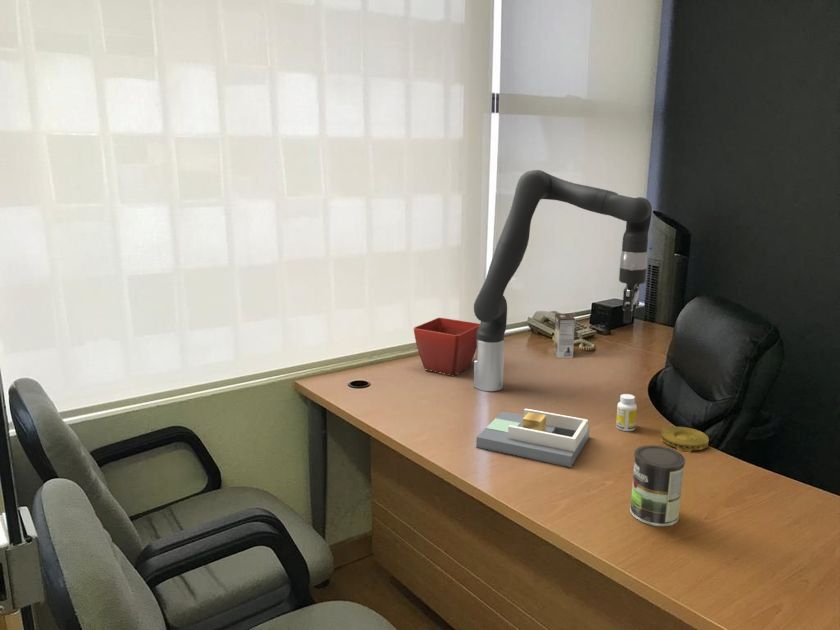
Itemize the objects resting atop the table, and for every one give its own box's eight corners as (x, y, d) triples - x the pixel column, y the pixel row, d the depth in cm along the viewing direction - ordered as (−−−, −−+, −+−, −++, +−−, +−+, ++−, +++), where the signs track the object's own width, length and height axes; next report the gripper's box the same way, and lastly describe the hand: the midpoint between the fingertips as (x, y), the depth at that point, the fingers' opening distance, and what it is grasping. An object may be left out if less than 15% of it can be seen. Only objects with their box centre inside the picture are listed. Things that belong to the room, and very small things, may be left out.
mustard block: (522, 433, 173) (522, 418, 172) (528, 427, 177) (528, 412, 176) (540, 437, 171) (540, 421, 170) (545, 430, 175) (546, 415, 174)
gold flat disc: (651, 438, 177) (652, 431, 177) (684, 430, 182) (684, 423, 181) (684, 456, 166) (685, 448, 166) (718, 447, 171) (718, 440, 170)
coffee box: (553, 351, 256) (554, 313, 252) (568, 351, 256) (570, 313, 252) (557, 358, 247) (559, 318, 243) (573, 358, 247) (575, 318, 243)
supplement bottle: (635, 425, 185) (637, 394, 182) (635, 432, 180) (637, 400, 177) (616, 423, 187) (618, 392, 184) (615, 430, 182) (617, 398, 179)
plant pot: (482, 366, 239) (482, 323, 235) (457, 381, 223) (458, 335, 219) (439, 358, 249) (438, 317, 245) (412, 372, 233) (412, 328, 229)
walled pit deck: (476, 447, 172) (476, 425, 170) (502, 420, 189) (502, 400, 188) (570, 467, 160) (572, 443, 159) (589, 437, 177) (590, 415, 176)
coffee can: (641, 528, 134) (646, 468, 130) (622, 502, 144) (626, 446, 140) (688, 525, 135) (694, 465, 131) (666, 500, 145) (671, 443, 141)
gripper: (624, 262, 193) (620, 313, 197) (615, 269, 181) (612, 323, 185) (649, 263, 190) (645, 315, 194) (643, 271, 178) (638, 326, 182)
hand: (629, 319), depth 189 cm, fingers open, 8 cm apart
